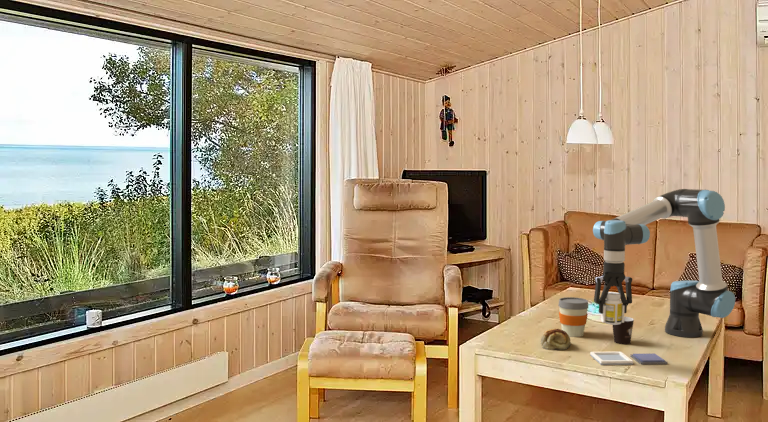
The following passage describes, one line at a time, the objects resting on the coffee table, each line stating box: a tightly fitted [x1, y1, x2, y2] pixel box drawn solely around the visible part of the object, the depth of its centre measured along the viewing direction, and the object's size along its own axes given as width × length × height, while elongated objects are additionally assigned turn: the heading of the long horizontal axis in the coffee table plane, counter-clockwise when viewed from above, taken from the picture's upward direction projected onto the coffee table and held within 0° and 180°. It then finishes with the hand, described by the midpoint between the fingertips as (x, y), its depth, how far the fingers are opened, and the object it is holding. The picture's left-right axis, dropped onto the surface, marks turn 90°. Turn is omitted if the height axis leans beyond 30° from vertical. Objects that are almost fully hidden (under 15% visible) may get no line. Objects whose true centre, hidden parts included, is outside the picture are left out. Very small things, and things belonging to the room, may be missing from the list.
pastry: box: [540, 328, 572, 351], centre depth 271 cm, size 14×12×8 cm
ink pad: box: [629, 353, 669, 366], centre depth 252 cm, size 10×10×1 cm
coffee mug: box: [612, 315, 635, 345], centre depth 277 cm, size 12×9×10 cm
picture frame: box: [589, 351, 634, 366], centre depth 253 cm, size 12×12×1 cm
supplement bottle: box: [604, 291, 622, 326], centre depth 251 cm, size 6×6×11 cm
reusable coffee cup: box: [558, 296, 589, 338], centre depth 289 cm, size 13×13×15 cm
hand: (612, 321), depth 251 cm, fingers closed on supplement bottle, 6 cm apart
